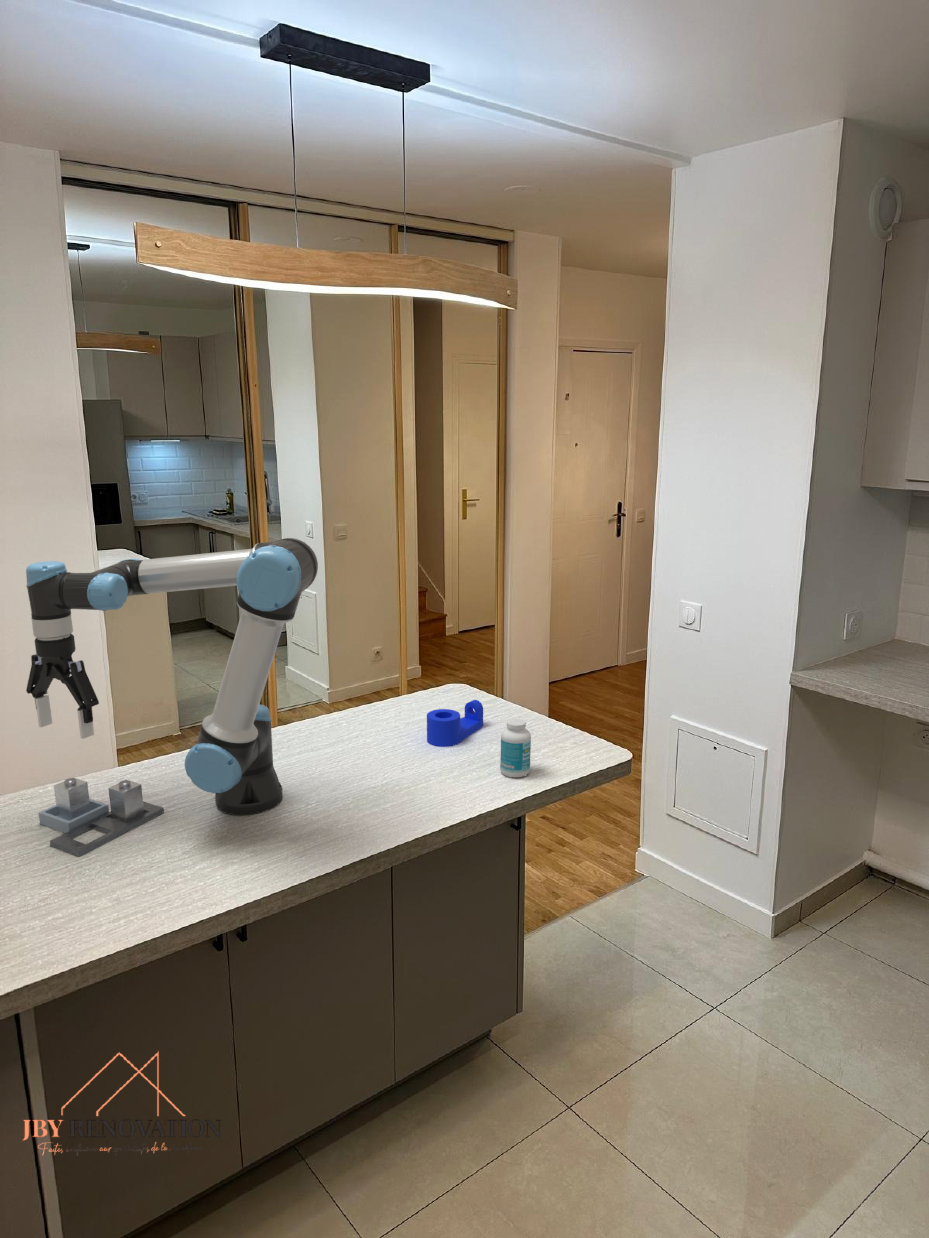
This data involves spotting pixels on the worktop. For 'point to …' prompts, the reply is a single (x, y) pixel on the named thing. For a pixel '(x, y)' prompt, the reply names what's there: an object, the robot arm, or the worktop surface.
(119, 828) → the grey slotted plate
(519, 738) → the pill bottle
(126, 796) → the grey knobbed block
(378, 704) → the worktop surface
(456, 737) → the bracket
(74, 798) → the knobbed metal block
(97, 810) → the tray
